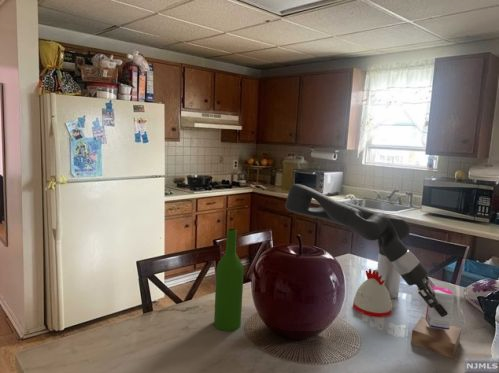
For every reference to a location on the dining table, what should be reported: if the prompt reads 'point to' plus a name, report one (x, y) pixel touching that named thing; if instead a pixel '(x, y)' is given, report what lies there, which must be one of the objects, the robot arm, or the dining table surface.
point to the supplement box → (446, 301)
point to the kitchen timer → (373, 297)
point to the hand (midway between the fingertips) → (444, 310)
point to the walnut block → (436, 338)
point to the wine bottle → (229, 287)
